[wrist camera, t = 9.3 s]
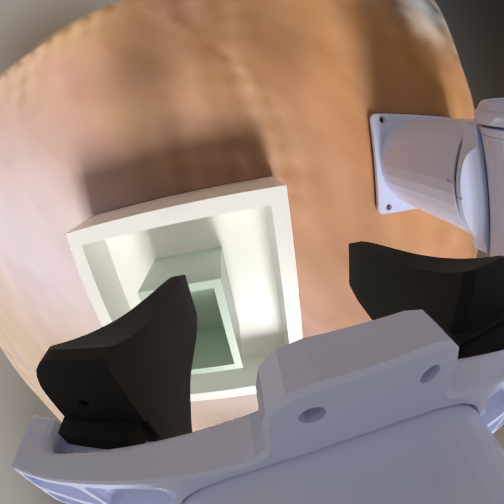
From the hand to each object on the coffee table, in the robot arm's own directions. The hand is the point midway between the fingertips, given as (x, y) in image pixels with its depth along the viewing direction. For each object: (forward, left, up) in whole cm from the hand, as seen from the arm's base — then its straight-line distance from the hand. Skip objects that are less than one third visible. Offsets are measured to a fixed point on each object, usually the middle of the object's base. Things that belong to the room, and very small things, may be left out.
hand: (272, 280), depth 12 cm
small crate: (+5, +5, -8) cm, 11 cm away
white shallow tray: (+5, +5, -9) cm, 12 cm away
